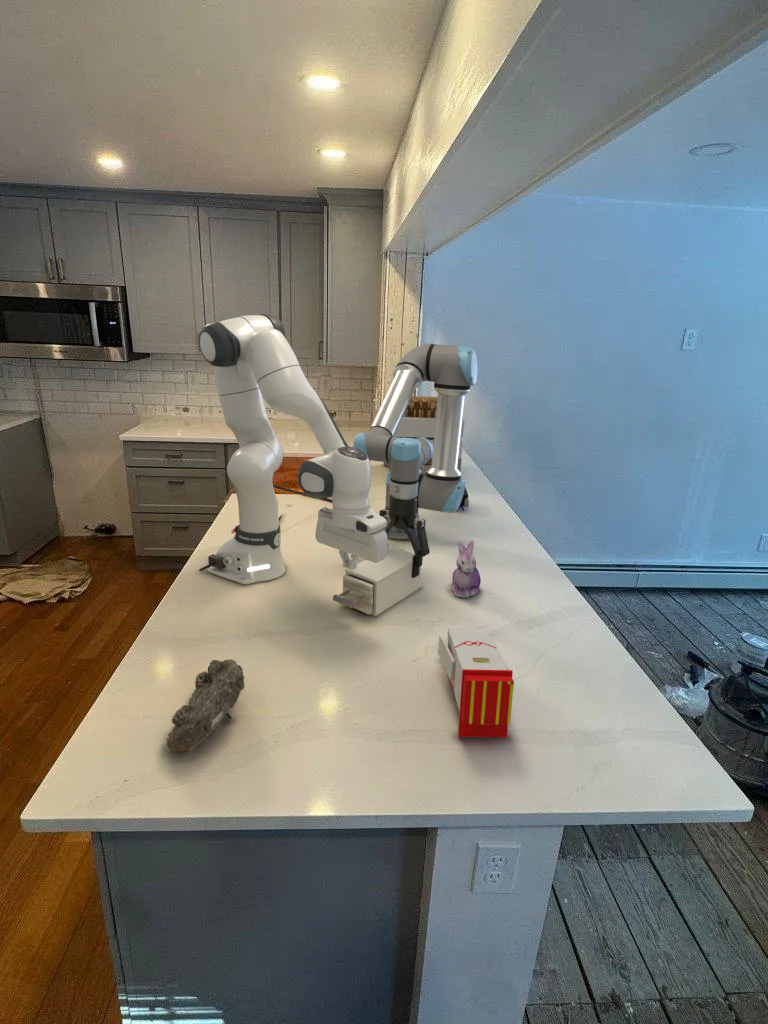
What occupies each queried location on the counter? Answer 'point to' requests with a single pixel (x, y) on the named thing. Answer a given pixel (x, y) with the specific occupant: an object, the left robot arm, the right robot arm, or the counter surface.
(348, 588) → the drawer
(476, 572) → the figurine
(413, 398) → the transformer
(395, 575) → the cabinet
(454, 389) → the right robot arm
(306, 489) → the left robot arm
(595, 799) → the counter surface
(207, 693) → the fossil
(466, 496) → the figurine character
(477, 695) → the toy
